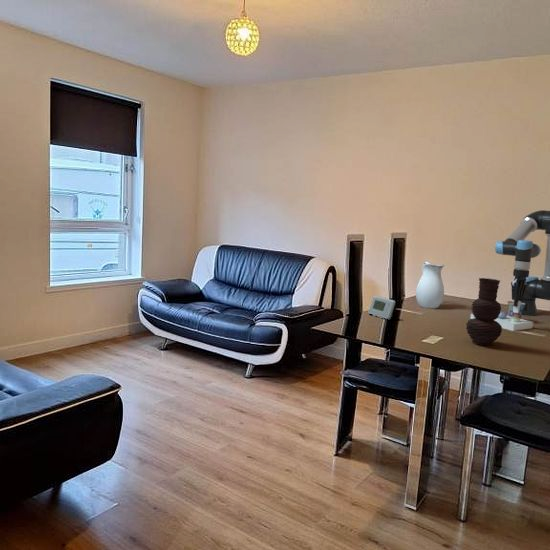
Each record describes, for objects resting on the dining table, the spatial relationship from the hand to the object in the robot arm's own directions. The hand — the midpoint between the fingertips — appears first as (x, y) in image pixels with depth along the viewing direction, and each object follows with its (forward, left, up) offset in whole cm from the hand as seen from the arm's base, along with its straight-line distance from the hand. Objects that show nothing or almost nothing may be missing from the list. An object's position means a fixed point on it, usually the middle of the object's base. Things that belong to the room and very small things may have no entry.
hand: (515, 312), depth 265 cm
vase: (+50, +15, -8) cm, 53 cm away
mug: (-18, -11, -9) cm, 23 cm away
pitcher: (+1, -59, -8) cm, 59 cm away
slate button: (0, -8, -6) cm, 10 cm away
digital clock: (+57, -43, -9) cm, 72 cm away
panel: (0, -8, -8) cm, 11 cm away
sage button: (0, 0, -8) cm, 8 cm away
